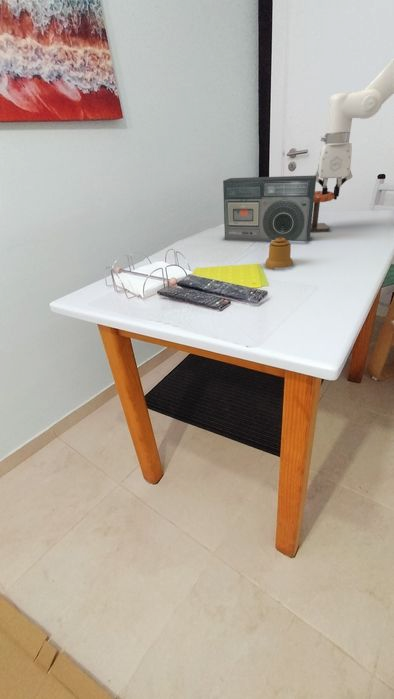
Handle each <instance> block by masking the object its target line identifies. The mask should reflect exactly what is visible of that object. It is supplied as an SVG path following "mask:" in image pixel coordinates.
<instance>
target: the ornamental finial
mask: <svg viewBox="0 0 394 699" xmlns="http://www.w3.org/2000/svg"><path fill="white" fill-rule="evenodd" d="M291 250H292V243H290V241H287V240H286V239H285V238H276V239H275V240H271V242H269V248H268V257H267V258H266V260H265V266H266V268H267V269H269V270H276V269H279V268H281V269H282V268H287V267H291V266H292V265H293V264H294V262H293V258H292V257H291ZM275 268H276V269H275Z"/></svg>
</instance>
